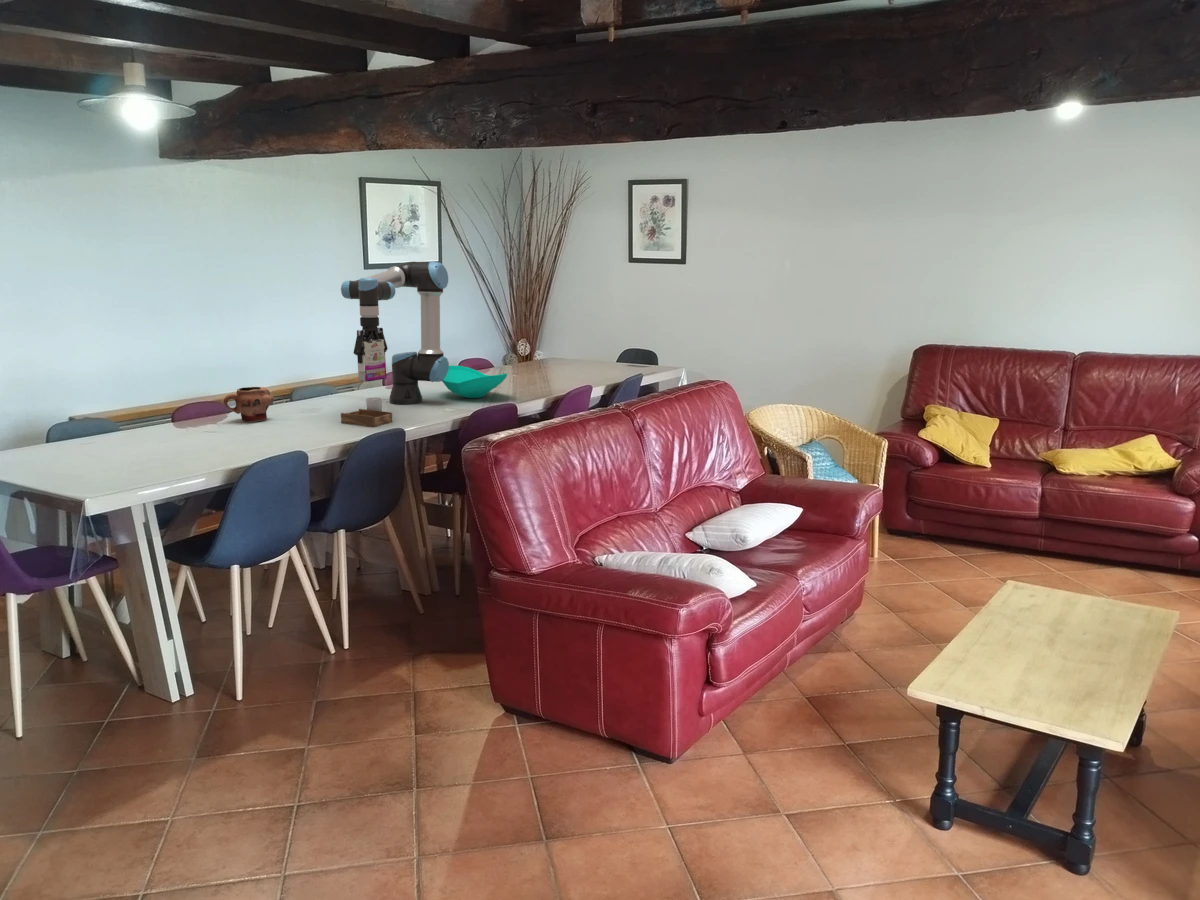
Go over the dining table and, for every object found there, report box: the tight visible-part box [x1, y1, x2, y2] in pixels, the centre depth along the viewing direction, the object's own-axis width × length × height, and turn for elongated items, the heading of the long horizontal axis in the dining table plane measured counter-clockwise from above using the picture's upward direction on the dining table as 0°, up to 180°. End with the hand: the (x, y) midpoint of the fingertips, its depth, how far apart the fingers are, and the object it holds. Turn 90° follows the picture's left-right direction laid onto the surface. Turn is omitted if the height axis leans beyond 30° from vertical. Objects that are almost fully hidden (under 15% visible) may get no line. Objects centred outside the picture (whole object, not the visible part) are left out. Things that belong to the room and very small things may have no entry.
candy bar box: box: [356, 339, 387, 383], centre depth 378 cm, size 11×5×16 cm, turn 144°
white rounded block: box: [365, 397, 383, 411], centre depth 395 cm, size 6×6×8 cm
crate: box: [340, 408, 393, 428], centre depth 383 cm, size 12×17×4 cm
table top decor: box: [441, 365, 508, 399], centre depth 444 cm, size 40×28×13 cm
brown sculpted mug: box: [223, 386, 275, 423], centre depth 382 cm, size 20×12×14 cm, turn 132°
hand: (371, 369), depth 379 cm, fingers closed on candy bar box, 12 cm apart
